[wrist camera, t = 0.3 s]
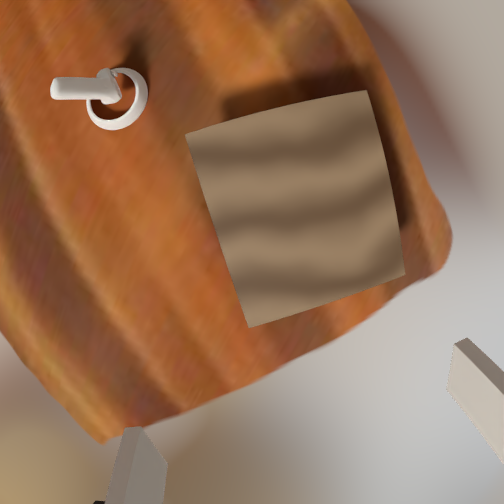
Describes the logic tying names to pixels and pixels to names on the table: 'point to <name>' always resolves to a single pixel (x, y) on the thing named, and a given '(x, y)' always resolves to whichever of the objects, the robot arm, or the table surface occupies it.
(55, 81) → the white ring with handle
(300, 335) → the table surface
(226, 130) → the small wooden table
